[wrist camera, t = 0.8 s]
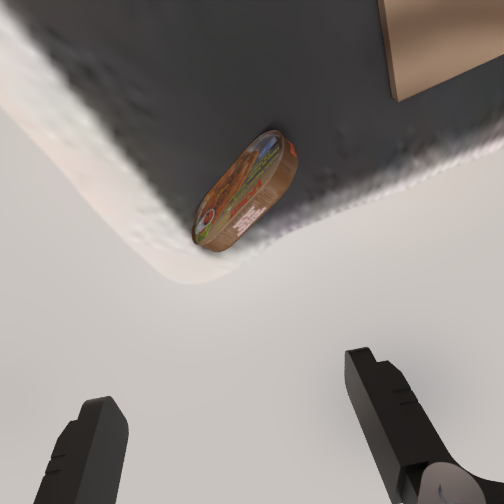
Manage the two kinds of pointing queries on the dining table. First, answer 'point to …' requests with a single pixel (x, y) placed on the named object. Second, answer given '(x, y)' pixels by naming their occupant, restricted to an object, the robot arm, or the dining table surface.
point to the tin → (245, 191)
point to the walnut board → (438, 40)
